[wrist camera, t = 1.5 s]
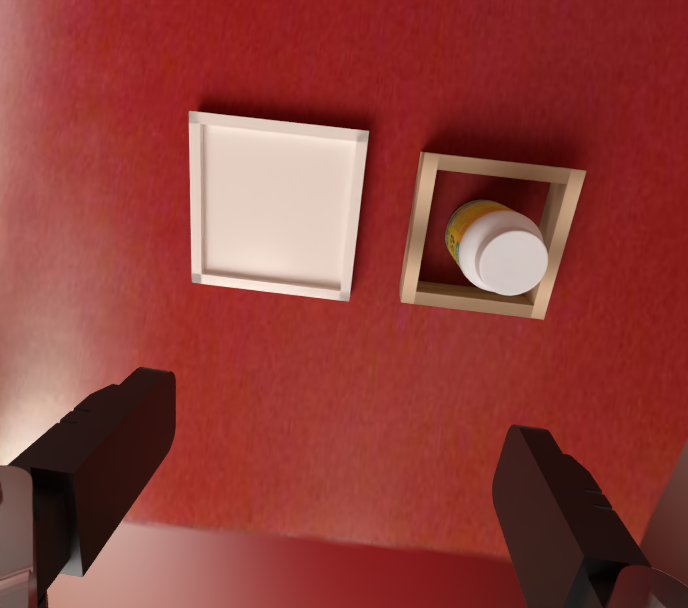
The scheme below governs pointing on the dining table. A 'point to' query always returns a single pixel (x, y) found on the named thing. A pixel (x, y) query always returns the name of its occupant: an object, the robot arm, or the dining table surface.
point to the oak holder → (551, 227)
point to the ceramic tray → (275, 204)
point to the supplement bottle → (497, 247)
